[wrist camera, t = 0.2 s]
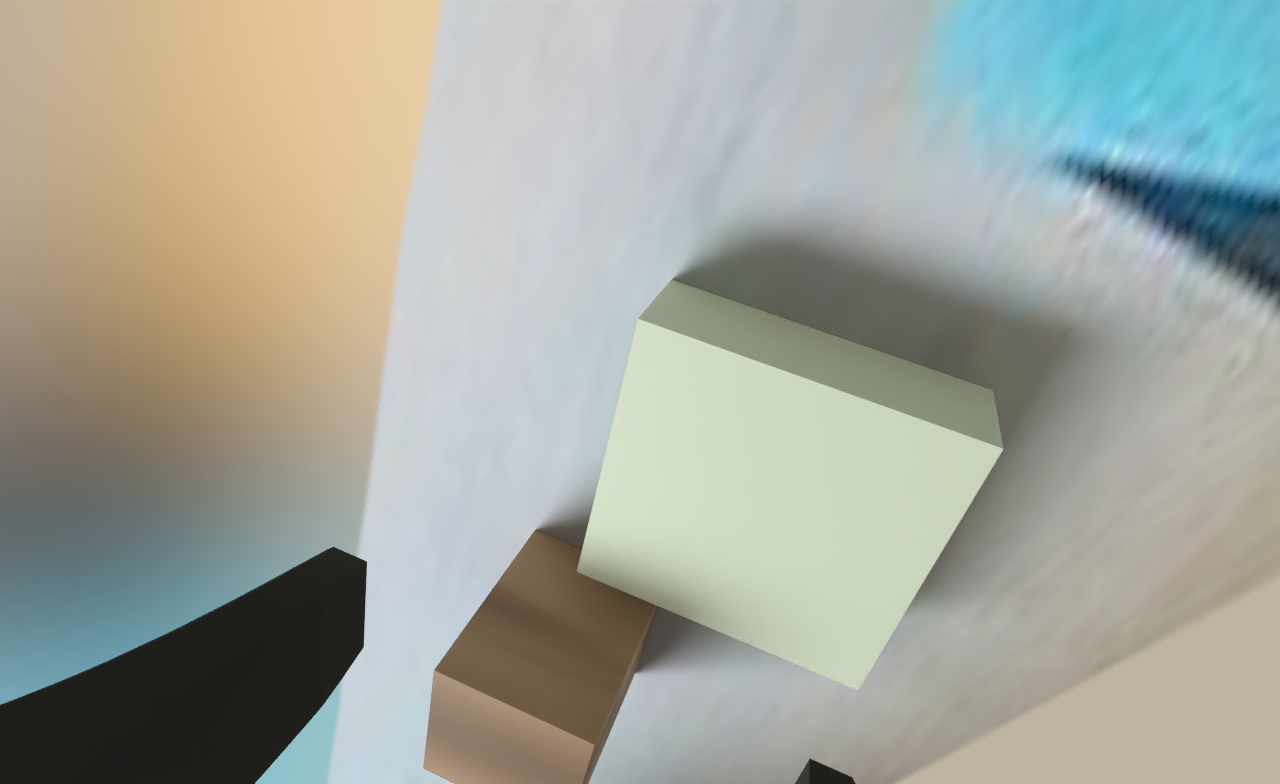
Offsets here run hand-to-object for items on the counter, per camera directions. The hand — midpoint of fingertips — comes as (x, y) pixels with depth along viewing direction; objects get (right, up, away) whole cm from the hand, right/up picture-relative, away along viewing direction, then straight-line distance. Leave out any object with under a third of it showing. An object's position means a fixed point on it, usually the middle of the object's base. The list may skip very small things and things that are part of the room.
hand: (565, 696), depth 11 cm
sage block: (+5, +3, +9) cm, 11 cm away
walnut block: (-1, -3, +14) cm, 14 cm away
